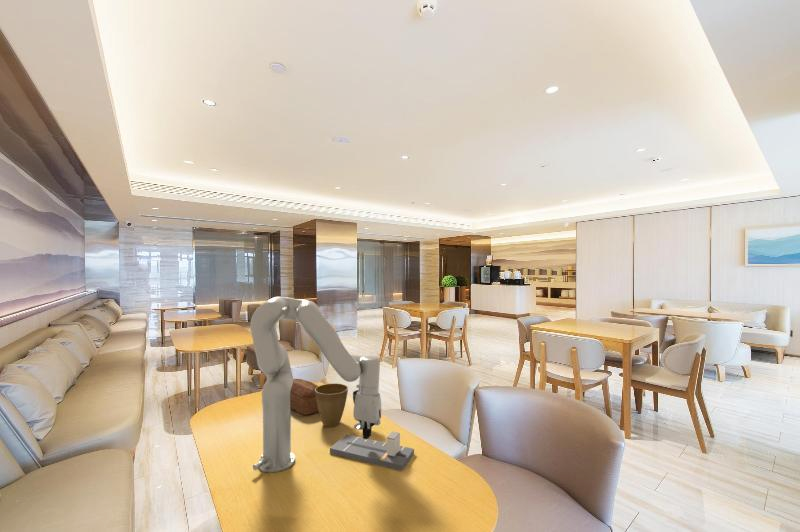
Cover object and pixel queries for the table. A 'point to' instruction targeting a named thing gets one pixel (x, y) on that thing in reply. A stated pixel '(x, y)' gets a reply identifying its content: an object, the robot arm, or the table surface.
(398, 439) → the fader tab
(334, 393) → the plant pot
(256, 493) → the table surface
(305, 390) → the bread
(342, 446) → the console
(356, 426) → the wine glass
